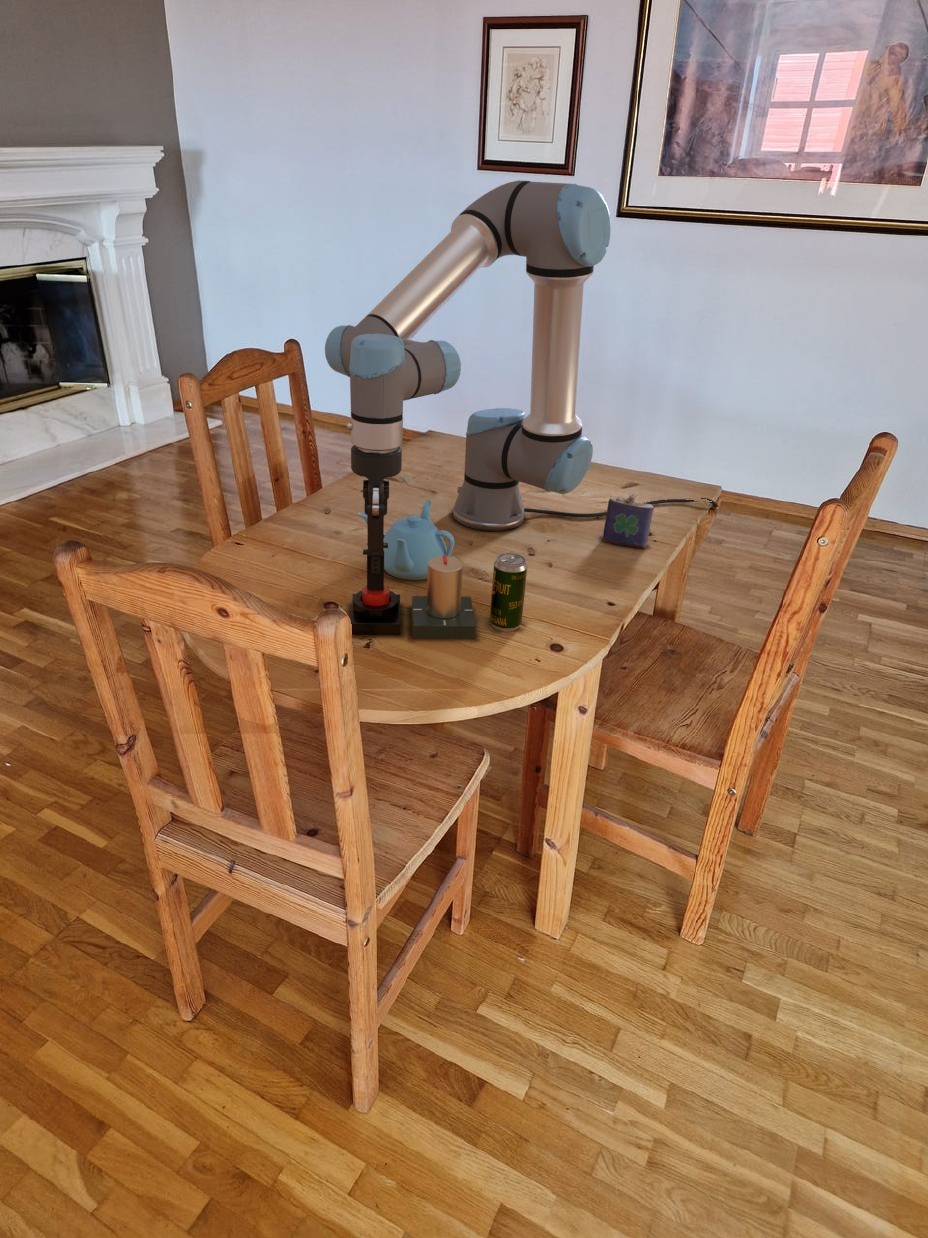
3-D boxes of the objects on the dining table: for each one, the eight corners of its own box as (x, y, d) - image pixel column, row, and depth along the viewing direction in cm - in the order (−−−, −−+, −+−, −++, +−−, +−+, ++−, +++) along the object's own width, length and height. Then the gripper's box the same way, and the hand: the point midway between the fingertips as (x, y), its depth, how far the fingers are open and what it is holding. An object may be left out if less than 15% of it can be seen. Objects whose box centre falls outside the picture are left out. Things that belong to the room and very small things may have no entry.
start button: (389, 594, 134) (389, 583, 133) (389, 607, 131) (389, 596, 130) (362, 594, 134) (362, 583, 133) (361, 607, 130) (361, 595, 129)
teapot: (465, 577, 150) (469, 525, 145) (392, 593, 143) (393, 539, 137) (427, 546, 160) (429, 498, 155) (358, 560, 153) (357, 509, 148)
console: (469, 609, 139) (470, 595, 138) (475, 639, 130) (476, 625, 129) (411, 608, 138) (412, 594, 137) (412, 639, 129) (413, 624, 128)
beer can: (502, 613, 139) (508, 549, 133) (527, 624, 136) (534, 559, 130) (482, 624, 135) (487, 558, 129) (508, 636, 132) (514, 569, 126)
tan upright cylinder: (461, 618, 131) (464, 570, 126) (426, 618, 130) (428, 569, 126) (458, 602, 136) (461, 554, 131) (425, 601, 135) (427, 553, 131)
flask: (647, 545, 167) (656, 496, 162) (645, 550, 165) (653, 500, 159) (603, 536, 170) (611, 487, 165) (600, 541, 168) (608, 492, 162)
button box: (399, 605, 139) (400, 584, 137) (400, 635, 130) (400, 614, 128) (352, 605, 138) (352, 584, 136) (350, 635, 129) (349, 613, 127)
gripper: (352, 431, 125) (353, 569, 136) (348, 459, 113) (350, 607, 125) (401, 433, 125) (398, 570, 137) (402, 461, 114) (399, 607, 126)
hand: (375, 587), depth 131 cm, fingers closed
